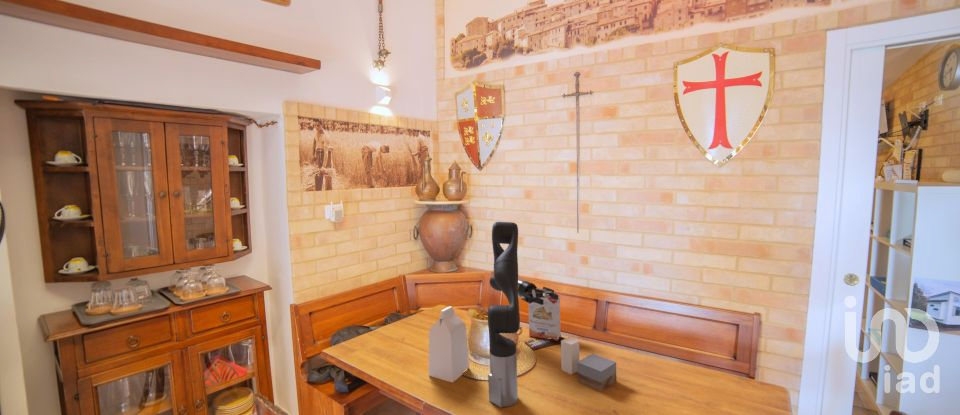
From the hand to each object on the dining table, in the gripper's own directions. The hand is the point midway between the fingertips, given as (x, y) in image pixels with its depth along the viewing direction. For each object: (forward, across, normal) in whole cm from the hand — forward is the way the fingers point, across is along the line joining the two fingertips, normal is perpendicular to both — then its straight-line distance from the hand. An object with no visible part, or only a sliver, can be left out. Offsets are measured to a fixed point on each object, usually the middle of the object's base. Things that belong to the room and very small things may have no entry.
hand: (550, 299), depth 160 cm
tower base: (+23, +1, +25) cm, 34 cm away
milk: (-18, -38, +26) cm, 50 cm away
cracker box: (-18, +15, +28) cm, 36 cm away
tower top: (+23, +1, +21) cm, 31 cm away
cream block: (+11, 0, +26) cm, 28 cm away
